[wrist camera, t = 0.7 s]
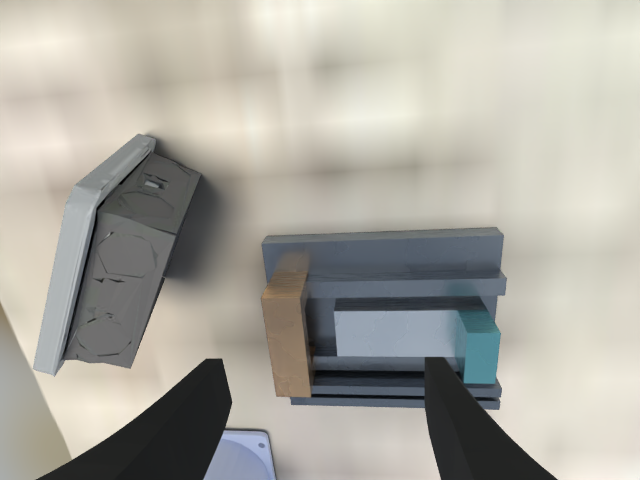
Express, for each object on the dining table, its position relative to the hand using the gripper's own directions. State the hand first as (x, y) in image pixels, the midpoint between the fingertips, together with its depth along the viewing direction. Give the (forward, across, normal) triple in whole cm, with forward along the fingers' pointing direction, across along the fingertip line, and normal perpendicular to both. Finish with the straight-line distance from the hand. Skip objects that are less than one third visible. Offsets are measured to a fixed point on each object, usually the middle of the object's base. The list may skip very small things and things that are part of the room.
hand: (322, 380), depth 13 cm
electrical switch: (+10, +10, -3) cm, 15 cm away
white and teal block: (+9, -4, +3) cm, 10 cm away
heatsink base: (+10, -2, +3) cm, 11 cm away
